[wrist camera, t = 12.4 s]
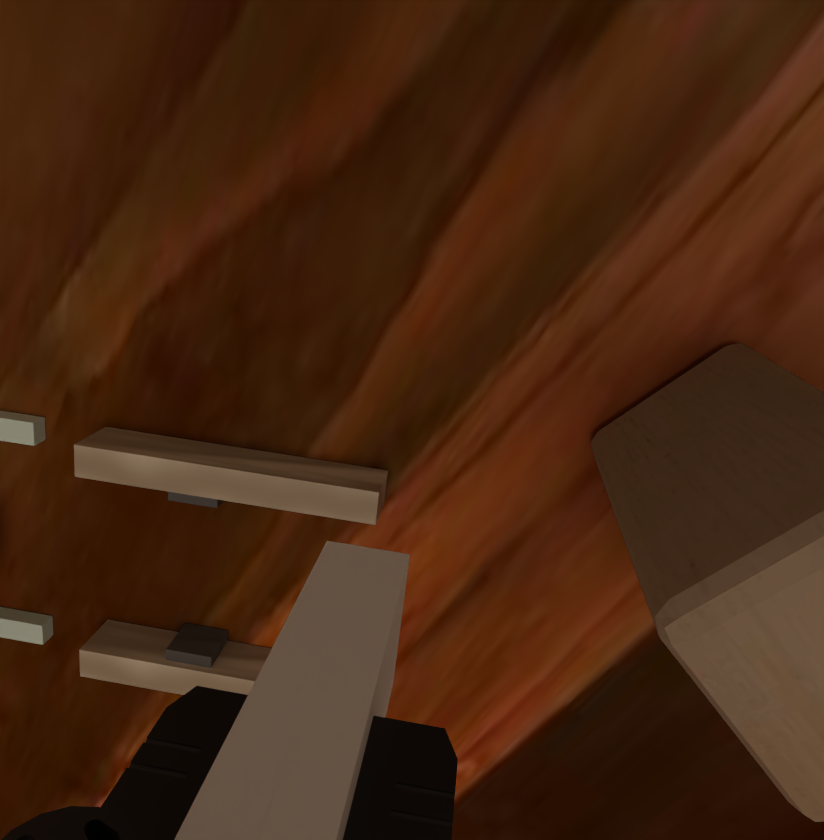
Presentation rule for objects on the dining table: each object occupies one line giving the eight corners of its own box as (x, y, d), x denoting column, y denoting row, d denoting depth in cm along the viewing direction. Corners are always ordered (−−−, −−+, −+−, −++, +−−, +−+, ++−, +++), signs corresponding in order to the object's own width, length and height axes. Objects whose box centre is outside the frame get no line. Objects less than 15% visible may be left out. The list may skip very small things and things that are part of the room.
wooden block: (678, 562, 43) (815, 845, 24) (581, 435, 42) (647, 632, 23) (833, 471, 41) (1123, 709, 22) (736, 331, 39) (957, 456, 20)
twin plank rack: (105, 426, 45) (74, 444, 42) (388, 470, 44) (379, 492, 41) (108, 644, 50) (80, 676, 47) (362, 690, 49) (352, 725, 45)
